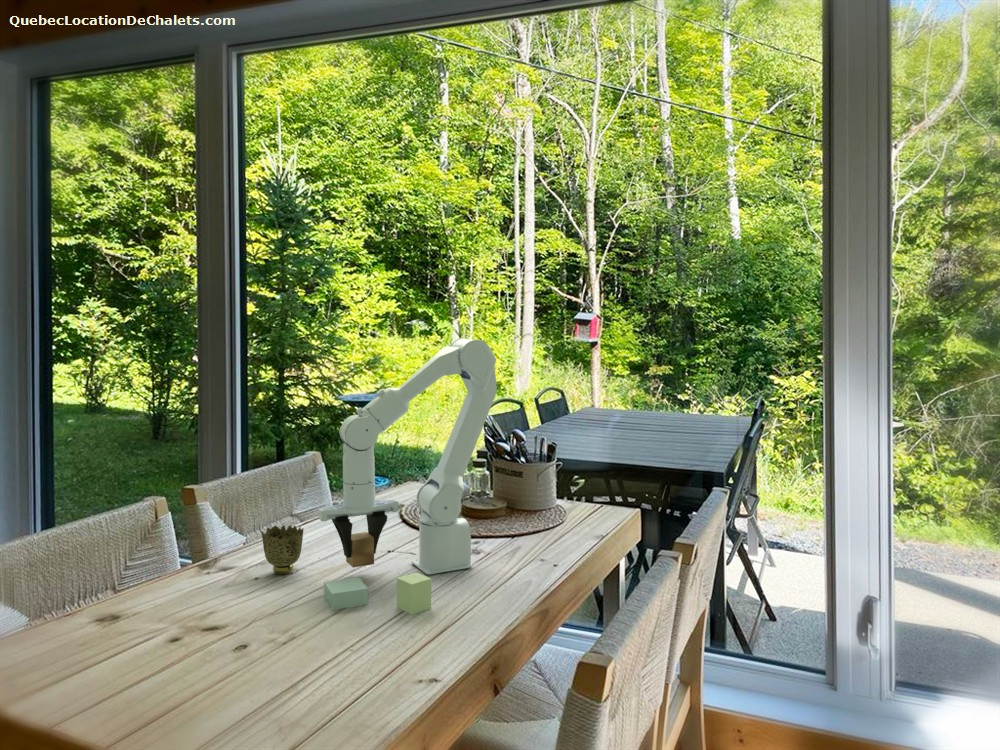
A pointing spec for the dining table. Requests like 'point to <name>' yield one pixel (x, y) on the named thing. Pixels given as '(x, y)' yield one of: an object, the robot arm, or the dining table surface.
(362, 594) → the mint green base block
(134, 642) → the dining table surface
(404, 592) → the sage block
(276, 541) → the cup
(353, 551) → the walnut block
